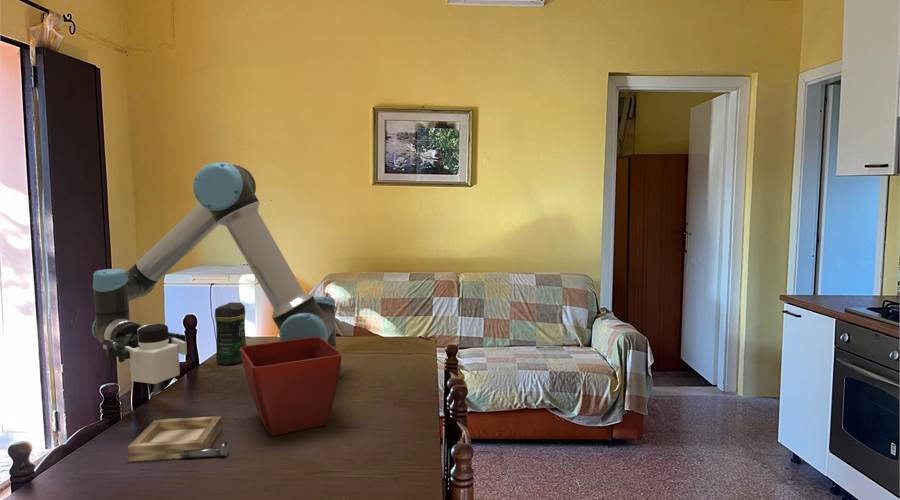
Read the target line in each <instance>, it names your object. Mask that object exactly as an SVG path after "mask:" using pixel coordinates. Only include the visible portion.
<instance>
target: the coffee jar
mask: <svg viewBox="0 0 900 500" xmlns="http://www.w3.org/2000/svg"><path fill="white" fill-rule="evenodd" d="M245 320H246V306H245V305H244V303H242V302H234V301H233V302H229V303H226V304H223V305H220V306H218V307H216V308H215V309H214V321H215V330H216V350H215V351H216V354H215V355H216V356H215V357H216V361H215V362H216V363H217V364H219V365H223V366H230V365H236V364H239V363H241V362H242V357H241V352H240V347H243V346H247V339H246V329H245V328H246V327H245V326H246V323H245Z"/></svg>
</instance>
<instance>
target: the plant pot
mask: <svg viewBox="0 0 900 500" xmlns="http://www.w3.org/2000/svg"><path fill="white" fill-rule="evenodd" d="M336 349H337V348H336ZM336 349H335V348H334V347H332V346H331V345H330V344H329V343H328V342H326V341H325V340H324V339H323V338H321V337H311V338H303V339H295V340H287V341H280V340H279V341H274V342H266V343H259V344H258V343H257V344H250V345H246V346H243V347H240V352H241V357H242V361H241V362H242V365H243V366H242V367H243V369H244V373H245V378H246V381H247V385H248V387H249V391H250V394H251V397H252V400H253V403H254V406H255V409H256V410H257V411H256V412H257V414H258V416H259V418H260V421H261V422H262V424H263V426H264V428H265V430H266V432H267V435H269V436H272V437H273V436H278V435H282V434H287V433H293V432H297V431H302V430H303V431H304V430H308V429H313V428H317V427H322V426H325V425H327V423H328V421H329V419H330V415H331V413H332V412H331V411H332V409H333V405H334V402H335V399H336V394H337V390H338V385H339V380H340V378H339V374H340V366H341V363H342V357H343V356H342V355H343V354H342V352H340V351H339V350H338V349H337V350H336Z"/></svg>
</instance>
